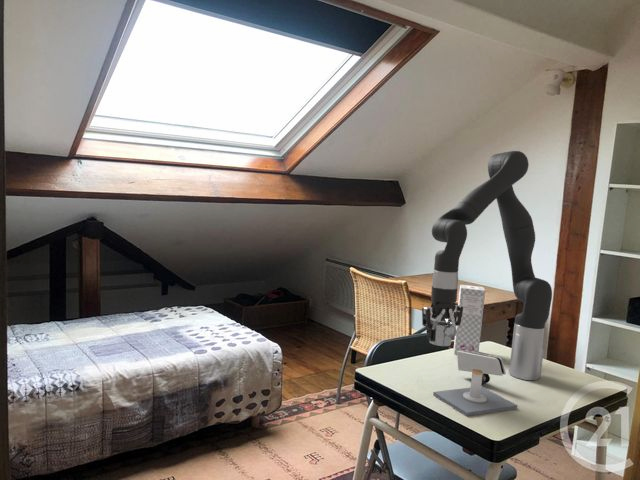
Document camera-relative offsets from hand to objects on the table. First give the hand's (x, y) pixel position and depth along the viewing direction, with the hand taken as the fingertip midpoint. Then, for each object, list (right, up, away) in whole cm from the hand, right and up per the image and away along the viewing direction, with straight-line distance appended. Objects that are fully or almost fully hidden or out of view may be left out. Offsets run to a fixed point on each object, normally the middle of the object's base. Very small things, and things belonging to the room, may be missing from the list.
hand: (440, 339), depth 150 cm
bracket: (+9, -10, +11) cm, 17 cm away
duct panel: (+7, -16, -10) cm, 20 cm away
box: (+19, -13, +37) cm, 43 cm away
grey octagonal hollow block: (0, -1, 0) cm, 1 cm away
